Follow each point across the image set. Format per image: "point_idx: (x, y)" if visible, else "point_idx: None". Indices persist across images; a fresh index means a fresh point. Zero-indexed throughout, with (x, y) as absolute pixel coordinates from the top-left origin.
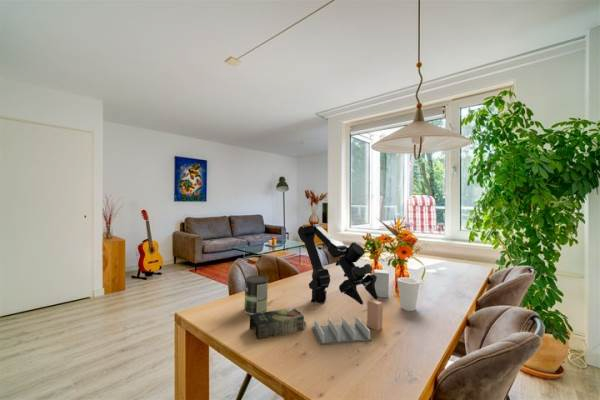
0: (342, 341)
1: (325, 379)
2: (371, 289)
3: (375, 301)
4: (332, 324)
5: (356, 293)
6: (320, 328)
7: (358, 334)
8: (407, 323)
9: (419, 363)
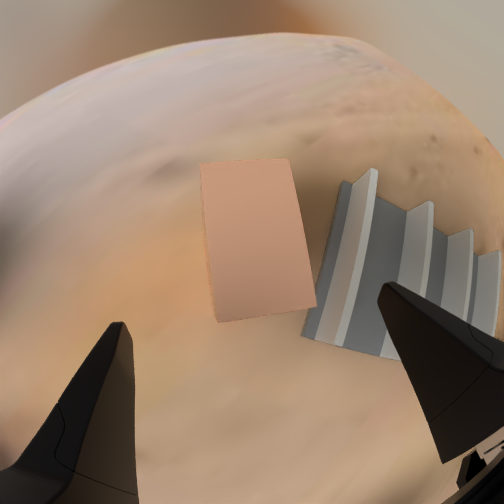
0: (441, 232)
1: (484, 155)
2: (103, 457)
3: (248, 231)
4: (466, 305)
5: (485, 336)
6: (499, 288)
7: (375, 238)
8: (46, 217)
9: (284, 51)
